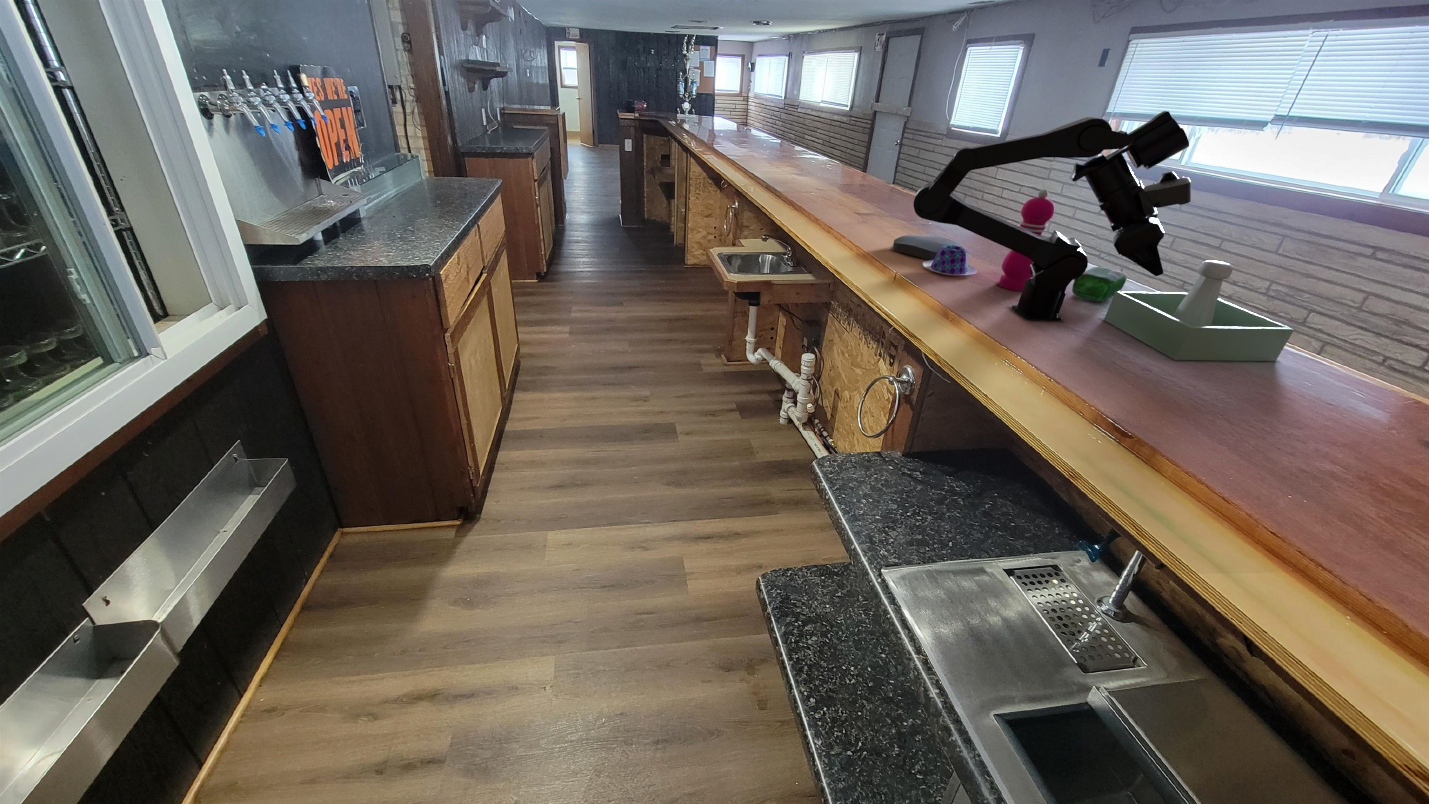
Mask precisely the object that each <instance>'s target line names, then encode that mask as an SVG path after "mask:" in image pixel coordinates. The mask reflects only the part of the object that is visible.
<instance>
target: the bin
mask: <svg viewBox="0 0 1429 804" xmlns="http://www.w3.org/2000/svg"><path fill="white" fill-rule="evenodd" d="M1187 294H1188V292H1178V291H1177V292H1175V291H1172V292H1171V291H1127V290H1126V291H1125V290H1123V291H1121V290H1120V291H1115V294H1114V295H1113V296H1112V298H1111V301H1110V304H1109V306H1108V309H1107V311H1106V314H1105V316H1104V317H1103V321H1105V322H1107V323H1108V324H1110V325H1112V326H1114V327H1115V328H1118V329H1119V330H1121V331H1123V332H1124V333H1127V334H1129V335H1130V336H1132V337H1134V338H1135V339H1137V340H1138V341H1141V342H1143V343H1145V345H1148V346H1150V347H1151V348H1153V349H1155V350H1157V351H1158V352H1160V353H1162V354H1164V355H1165V356H1167V357H1170V358H1171V359H1173V360H1175V361H1228V362H1229V361H1231V362H1232V361H1234V362H1235V361H1236V362H1237V361H1239V362H1240V361H1241V362H1242V361H1245V362H1277V360H1278V358H1279V357H1280V355H1281V353H1282V352H1283V350H1284V347H1285V346H1286V345H1287V343H1288V341H1289V340H1290V338H1291V336H1292V335H1293V334H1294V331H1295V328H1292V327H1289V326H1287V325H1285V324H1282V323H1280V322H1278V321H1275V320H1274V319H1273V320H1272V319H1270V318H1267V317H1265V316H1263V315H1260V314H1259V313H1256V312H1253V311H1250V310H1248V309H1245V308H1243V307H1240V306H1237V305H1236V304H1233V303H1231V302H1228V301H1226V300H1223V299H1221V298H1218V300H1217V304H1216V307H1215V311H1214V315H1213V319H1212V323H1211V326H1191V325H1188V324H1186V323H1184V322H1182V321H1180V320H1178V319H1176V318H1174V317H1172V315H1173V313H1174V312H1175V310H1176V309H1177V308H1178V306H1179V305H1180V303H1181V302H1182V301H1183V299H1184V298H1185V296H1186V295H1187Z"/></svg>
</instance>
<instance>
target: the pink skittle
mask: <svg viewBox="0 0 1429 804" xmlns="http://www.w3.org/2000/svg"><path fill="white" fill-rule="evenodd" d="M1048 195H1049V191H1048V190H1047V189H1041V190H1039V191H1038V193H1037V197H1033V198H1030V199H1028V200H1027V201H1025V203H1024V204H1023V205H1022V207H1021V210H1020V216H1021V217H1022V220H1021V221H1020V222H1019V223H1020V225H1019V226H1018V227H1021V228H1023V229H1025V230H1027V231H1030V232H1032V233H1034V234H1037V235H1040V236H1043V233H1045V232H1046V231H1047V227H1048V224H1047V222H1049V221H1050V220H1051V219H1052V218H1053V216H1055V212H1056V206H1055V203H1054V202H1053V201H1052V200H1051V199H1049V198H1047V197H1048ZM1032 263H1034V262H1033V261H1032V260H1031V259H1029V258H1028V257H1026V256H1024V255H1022V254H1020V253H1017V252H1015V251H1013V250H1011V249H1010V251H1008V253H1007V254H1006V256H1005V257H1004V259H1003V261H1002V263H1001V269H1002V272H1003V274H1002V275H1001V276H1000V278H999V281H998V285H999V286H1000V287H1002V288H1004V289H1008V290H1010V291H1017V292H1022V290H1023V287H1024V284H1025V281H1026V280H1030V279H1032V276H1031V272H1030V265H1031V264H1032Z"/></svg>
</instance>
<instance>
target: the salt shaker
mask: <svg viewBox="0 0 1429 804" xmlns="http://www.w3.org/2000/svg"><path fill="white" fill-rule="evenodd" d="M1233 269H1234V266H1233V265H1232V264H1231V263H1228V262H1225V261H1220V260H1205V261H1202V263H1201V264H1200V266H1199V267H1198V270H1197V274H1198V275H1199V276H1198V278H1197V279H1196V281H1195V282H1194V284H1193V285H1192V286H1191V288H1190V289H1189V291H1188V292H1187V293H1188V294H1187V295H1186V296H1185V298H1184V299H1183V301H1182V302H1181V303H1180V305H1179V306H1178V308H1177V309H1176V310H1175V312H1174V313H1173V315H1172V317H1174V318H1176V319H1178V320H1180V321H1182V322H1184V323H1186V324H1188V325H1191V326H1211V323H1212V319H1213V315H1214V311H1215V307H1216V304H1217V300H1218V299H1219V296H1220V292H1221V290H1222V289H1221V288H1222V285H1223V281H1224V280H1228V279H1229V278H1230V277H1231V275H1232V274H1233Z"/></svg>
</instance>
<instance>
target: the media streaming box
mask: <svg viewBox="0 0 1429 804" xmlns="http://www.w3.org/2000/svg"><path fill="white" fill-rule="evenodd" d="M945 245H950V246H952V245H953V246H959V247H963V248H964V245H963V244H961V243H960V242H957V241H954V240H952V239H949V238H944V237H940V236H933V235H917V234H916V235H915V234H906V235H902V236H899V237H897V238H895V239H894V240H893V243H892V250H893V251H895V252H898V253H902V254H906V255H909V256H912V257H913V256H914V257H918V258H922V259H926V260H934V259H935V257H936V255H937V253H938V251H939V249H940V248H941V247H942V246H945Z"/></svg>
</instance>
